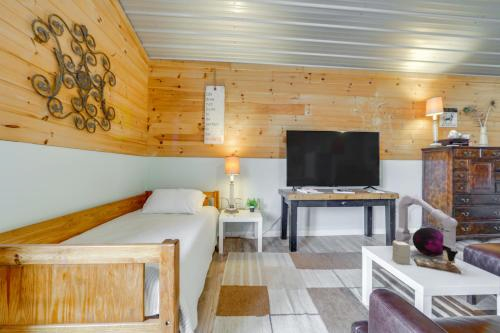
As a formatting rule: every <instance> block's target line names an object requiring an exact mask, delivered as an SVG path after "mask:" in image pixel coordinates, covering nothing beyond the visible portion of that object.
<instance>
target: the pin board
mask: <svg viewBox="0 0 500 333" xmlns="http://www.w3.org/2000/svg"><path fill="white" fill-rule="evenodd" d="M421 259H422V258H417V257H413V262H414V263H415V265H416V266H417V267H420V268H425V269H432V270H435V271H441V272H442V271H443V272H447V273H453V274H459V275H461V274H462V271H461V270H460V269H459V268H458V267H457V266H456V265H455V264H454V263H448V262H439V259H437V258H433V260H427V259H423V260H421ZM425 260H427V261H425Z"/></svg>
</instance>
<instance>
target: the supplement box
mask: <svg viewBox="0 0 500 333" xmlns="http://www.w3.org/2000/svg"><path fill="white" fill-rule="evenodd" d="M391 257H392V258H391V259H392V260H393V261H394V262H395V263H397V264H399V265H411V245H410V244H407V243H405V242H397V241H394V240H393V241H392V256H391Z"/></svg>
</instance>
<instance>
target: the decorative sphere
mask: <svg viewBox="0 0 500 333" xmlns="http://www.w3.org/2000/svg"><path fill="white" fill-rule="evenodd" d="M412 243H413V246H414V247H415V249H416V250H417V251H418V252H420V253H421V254H422V255H425V256H427V257H430V258H431V257H433V258H435V257H436V258H437V257H440V256H443V248H442V247H441V245H443V232H441V231H439V229H435V228H433V227H421V228H418V229H417V230H416V231H415V232H414V233H413V235H412Z"/></svg>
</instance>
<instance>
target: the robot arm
mask: <svg viewBox="0 0 500 333" xmlns="http://www.w3.org/2000/svg"><path fill="white" fill-rule="evenodd" d="M412 205H416V206H419V207H421V208H423V209H424V210H426V211H427V212H429V213H430V215H431V217H433V218H434V219H435V220H437V221H438V222H440V223H441V225H442V226H443V231H442V234H443V245H441V247H442V248H443V251H444V250H446V252H447V255H448V260H449V261H454V258H455V259H456V256H457V255H458V253H459V251H458V250H457V248H458V247H459V246H458V244H456V242H457V241H456V238H457V237H456V236H457V226H458V222H459V221H458V220H456V219H455V218H454V217H450V215H447V214H446V213H444V212H443V210H442V209H438V208H434V207H433V206H431V205H430V204H429V203H427V202H426V201H424V199H423V198H421V197H420V196H418V195H417V194H410V195H409V194H406V195H404V196H402V197H401V200H400V201H399V204H398V228H397V229H396V232H395V234H394V237H395V239H394V240H393V241H397V242H405V243H407V244H409V243H410V240H411V239H412V236H411V233H410V229H408V227H409V226H408V225H409V222H408V221H409V207H411V206H412ZM409 245H410V244H409Z"/></svg>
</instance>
